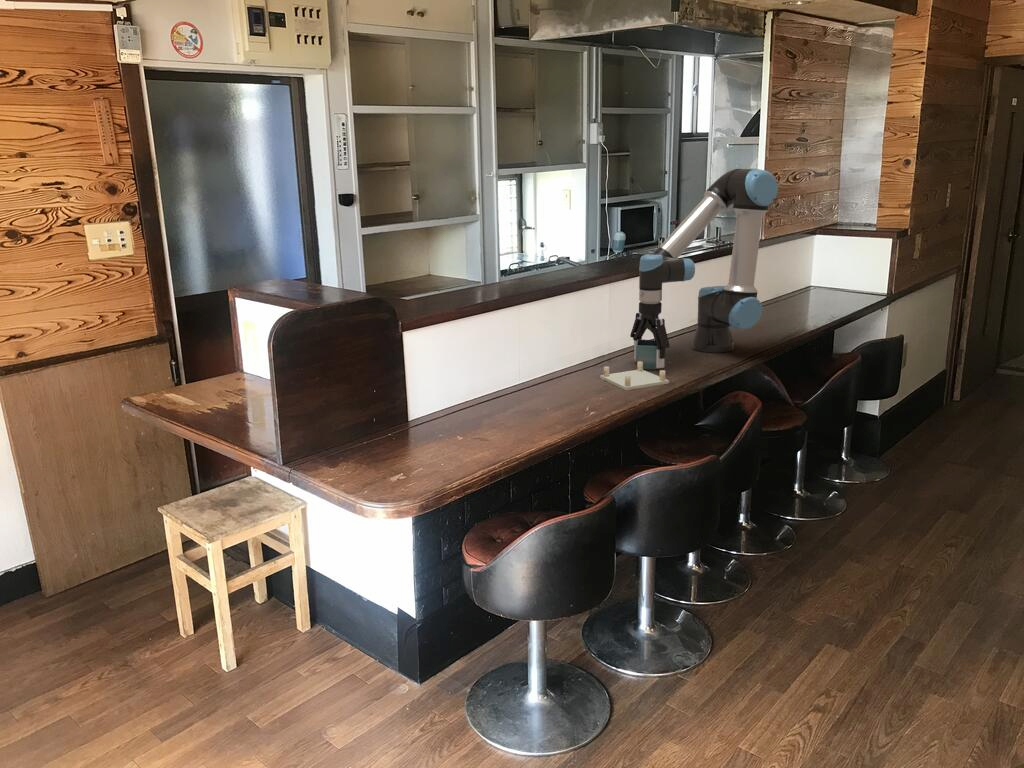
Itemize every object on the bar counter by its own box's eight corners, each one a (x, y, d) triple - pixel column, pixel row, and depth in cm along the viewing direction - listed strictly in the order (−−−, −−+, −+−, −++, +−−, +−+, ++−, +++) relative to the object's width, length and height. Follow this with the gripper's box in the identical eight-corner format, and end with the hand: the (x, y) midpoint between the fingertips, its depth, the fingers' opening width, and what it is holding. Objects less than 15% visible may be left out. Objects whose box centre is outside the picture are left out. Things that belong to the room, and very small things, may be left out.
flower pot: (661, 371, 281) (662, 345, 278) (635, 371, 283) (635, 345, 280) (662, 365, 289) (662, 339, 287) (636, 364, 291) (637, 339, 288)
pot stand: (641, 371, 281) (641, 360, 280) (668, 383, 267) (669, 371, 266) (600, 378, 275) (600, 366, 274) (626, 390, 261) (626, 378, 260)
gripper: (620, 297, 289) (620, 356, 295) (662, 308, 267) (660, 373, 273) (639, 295, 292) (638, 354, 298) (681, 306, 270) (679, 370, 276)
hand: (648, 363), depth 285 cm, fingers open, 13 cm apart
